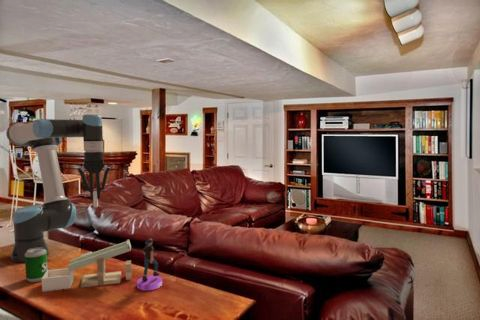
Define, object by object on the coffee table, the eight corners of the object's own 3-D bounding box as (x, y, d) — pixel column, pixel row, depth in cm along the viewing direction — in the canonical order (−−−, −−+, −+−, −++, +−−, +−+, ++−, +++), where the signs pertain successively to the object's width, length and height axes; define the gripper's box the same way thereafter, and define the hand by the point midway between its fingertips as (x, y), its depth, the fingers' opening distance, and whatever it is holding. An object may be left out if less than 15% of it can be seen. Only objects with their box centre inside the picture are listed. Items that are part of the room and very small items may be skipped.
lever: (75, 258, 147) (73, 252, 146) (131, 239, 152) (129, 233, 152) (69, 271, 133) (66, 264, 132) (130, 250, 138) (128, 243, 138)
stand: (84, 278, 141) (83, 251, 140) (131, 273, 146) (130, 247, 145) (80, 287, 133) (79, 259, 132) (131, 281, 138) (130, 254, 137)
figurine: (167, 282, 138) (166, 236, 136) (151, 292, 129) (150, 243, 128) (148, 278, 142) (146, 233, 140) (131, 287, 133) (130, 240, 132)
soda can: (38, 284, 137) (36, 253, 136) (21, 282, 138) (19, 252, 137) (52, 276, 144) (50, 247, 143) (36, 274, 146) (34, 246, 145)
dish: (47, 282, 138) (47, 270, 137) (73, 279, 140) (73, 267, 140) (42, 291, 130) (41, 278, 130) (69, 288, 132) (69, 275, 132)
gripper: (75, 152, 144) (77, 209, 146) (109, 151, 148) (111, 207, 150) (78, 151, 151) (80, 205, 153) (110, 150, 155) (112, 203, 157)
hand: (95, 206), depth 152 cm, fingers closed
